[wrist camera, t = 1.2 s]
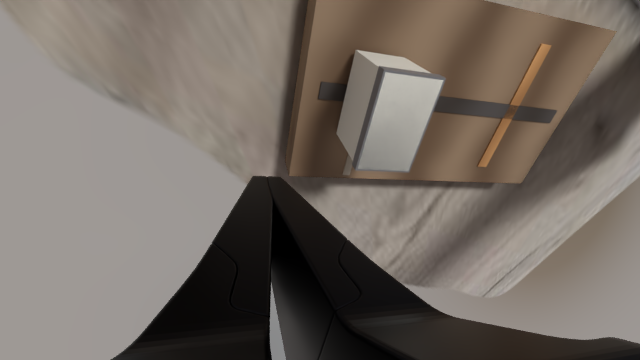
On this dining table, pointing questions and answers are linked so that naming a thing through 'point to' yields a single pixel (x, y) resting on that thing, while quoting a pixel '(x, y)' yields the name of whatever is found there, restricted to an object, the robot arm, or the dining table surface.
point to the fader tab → (386, 111)
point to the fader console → (458, 90)
